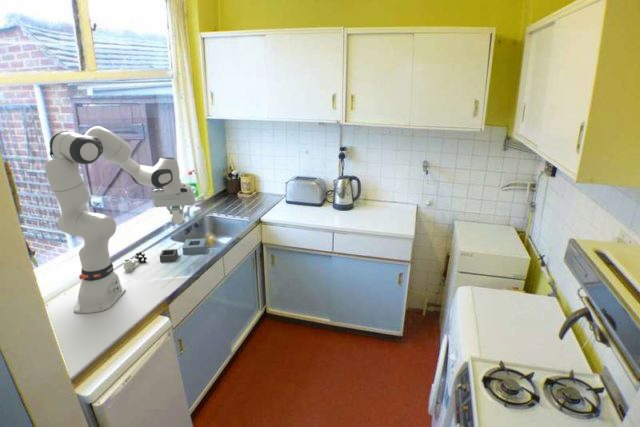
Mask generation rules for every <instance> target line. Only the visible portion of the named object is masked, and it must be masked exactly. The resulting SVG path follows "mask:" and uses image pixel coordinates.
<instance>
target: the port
mask: <svg viewBox="0 0 640 427" xmlns="http://www.w3.org/2000/svg"><path fill="white" fill-rule="evenodd" d="M207 245H208V244H207V238H206V237H204V238H190V239H188V238H187V239H185V241H184V243H183V246H182V247H181V248H182V255H183V256H185V255H199V254H201V255H202V254H205V253H206V248H207Z"/></svg>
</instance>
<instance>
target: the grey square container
mask: <svg viewBox="0 0 640 427" xmlns="http://www.w3.org/2000/svg"><path fill="white" fill-rule="evenodd" d="M178 256H179V253H178V248H172V249H162V250H161V252H160V254H159V260H160V261H159V262H160V263H168V262H169V263H171V262H176V261H177V258H178Z"/></svg>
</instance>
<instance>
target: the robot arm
mask: <svg viewBox="0 0 640 427" xmlns="http://www.w3.org/2000/svg"><path fill="white" fill-rule="evenodd" d="M132 150H133V149H132V146H130V144H128V142H127V141H125V140H124V139H123V138H121V137H120V136H118V135H117V134H115V133H114V132H112V131H110V130H108V129H106V128H104V127H102V126H93V127H91V128H90V129H88V130H87V131H86V132H85V134H84V135H83V134H80V133H76V132H70V131H59V132H56V133H54V134H52V136H51V137H50V139H49V156H50V157H51V159H49V160H48V161H47V162H46V163H45V165H44V171H45V175H46V179H47V182H48V183H49V186H50V188H51V190H52V192H53V194H54V196H55V198H56V200H57V203H58V204H59V207H60V210H61V211H60V212H61V214H60V216H59V217H58V221H57V224H58V225H57V226H58V228H59V229H60V230H61V232H63V233H65V234H67V235H70V236H74V237H81V238H82V239H83V242H84V243H83V244H84V245H83V246H82V247H81V248H80V250H78V251H79V252H78V257H79V260H80V265H81V271H80V273H81V274H79V278H78V279H79V280H81V282H80V287H79V291H78V295H77V300H76V303H75V306H74V309H73V312H74V313H77V314H92V313H99V312H103V311H107V310H109V309H111V307H112V306H113V305H114V304H115V303H116V302H117V301H118V300H119V298H121V297H122V295H123V294H125V292H126V288H124V287H122V284H121V280H120V277H119V275H118V274H117V273H116V272H115V271H114V264H113V262H112V260H111V258H110V257H111V256H110V253H109V252H110V250H109V242H110V239H111V238H112V237H113V236H114V235H115V233H116V232H117V222H116V220H115V219H114V218H113V217H111V216H109V215H106V214H104V213H99V212H93V211H90V209H88V206H87V204H88V202H89V201H90V199H91V194H90V192H89V190H88V188H87V186H86V184H85V181H84V179H83V177H82V175H81V173H80V170H79V169H80V168H79V166H80V165H90V164H93V163H95V162H96V161H97V160H98V159H99V158H100V157H101V158H103V159H104V160H106V161H108V162H109V163H112V164H113V165H116V166H117V167H119V168H120V169H122V170H123V171H124V172H125V173H126V174H128V175H129V176H130V178H131V179H132V180H133V182H134V184H137V185H138V186H146V187H151V188H155V189H154V190H152V191H151V196H152V197H153V206H154V207H155V208H166V209H167V211H168V212H169V214H170V215H172V209H171V207H172V206H180V214H181V215H182V214H184V208H185V207H186V206H194V205H195V204H196V202H197V201H196V196H195V193H194V190H192V185H191V184H188V183H182V181H181V178H180V175H181V174H180V173H181V172H180V167H179V163H178V161H177V159H176V158H175V157H169V156H162V157H160V158H159V161H158V162H157V163H155V165H153V166H149V165H146V164H141V163H138V162H136V161H135V160H134V159H133V158H131V157H132V154H133V153H132V152H133V151H132Z"/></svg>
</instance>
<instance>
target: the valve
mask: <svg viewBox="0 0 640 427" xmlns="http://www.w3.org/2000/svg"><path fill="white" fill-rule="evenodd" d="M134 258H135V259H134V260H132V259H131V258H127V259H124V260H123V261H122V263H123V269H124V272H126V273H131V272H133V271H134V267H136V264H138V263H144V264H146V263H147V260H148V257H146V254H145V253H142V252H141V251H140V252H137V253H135V257H134Z"/></svg>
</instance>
